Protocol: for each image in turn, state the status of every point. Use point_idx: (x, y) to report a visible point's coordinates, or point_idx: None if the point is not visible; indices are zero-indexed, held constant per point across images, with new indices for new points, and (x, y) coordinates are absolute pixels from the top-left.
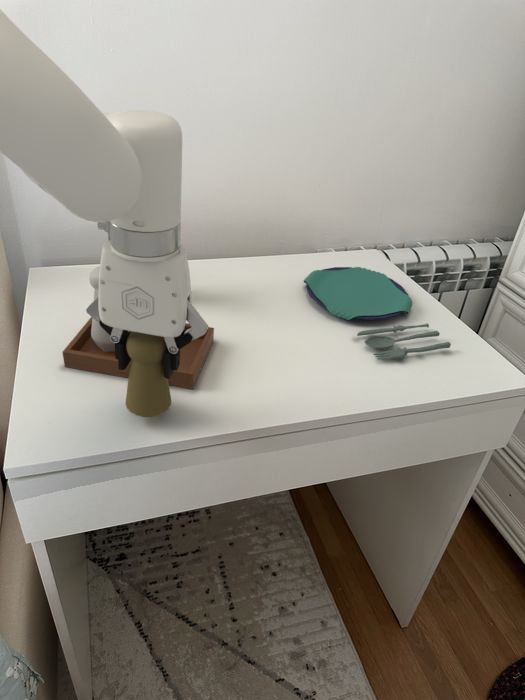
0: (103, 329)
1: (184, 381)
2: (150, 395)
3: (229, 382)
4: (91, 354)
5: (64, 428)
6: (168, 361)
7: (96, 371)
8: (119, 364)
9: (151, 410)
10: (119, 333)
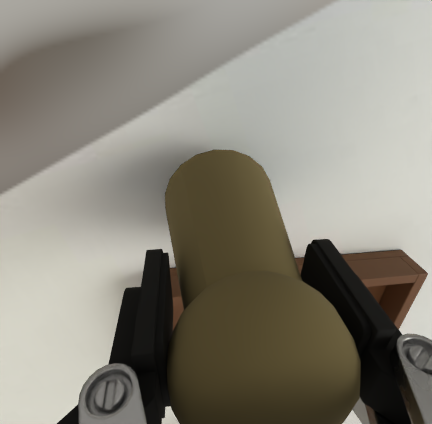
0: None
1: (171, 279)
2: (203, 191)
3: (93, 304)
4: (372, 283)
5: (381, 89)
6: (139, 314)
7: (345, 255)
8: (335, 252)
9: (195, 165)
10: (429, 401)
